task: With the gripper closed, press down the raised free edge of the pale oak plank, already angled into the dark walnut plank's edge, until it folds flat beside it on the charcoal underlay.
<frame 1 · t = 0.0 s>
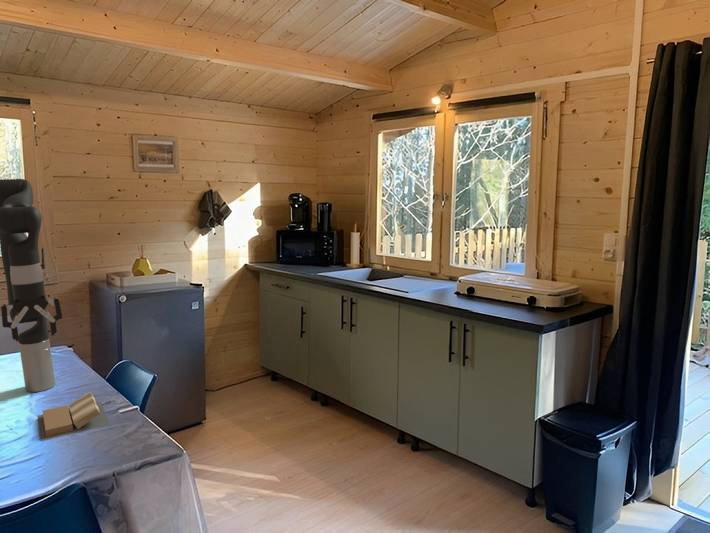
hand: (35, 337, 154), 29 cm above the table, tool pointing down, fingers open, 8 cm apart
floor section: (73, 421, 168), on the table
oak plank: (84, 409, 169), point 3 cm above the table, hinge at 25.0°
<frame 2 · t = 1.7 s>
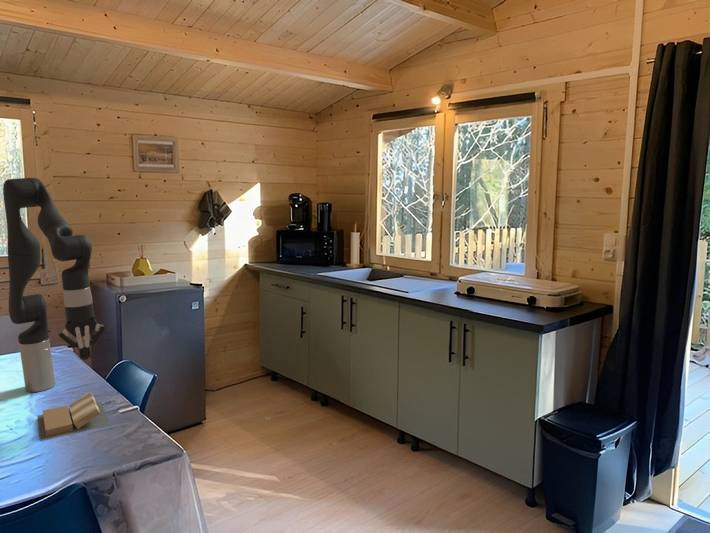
hand: (85, 359, 167), 19 cm above the table, tool pointing down, fingers closed
nothing on the table moved.
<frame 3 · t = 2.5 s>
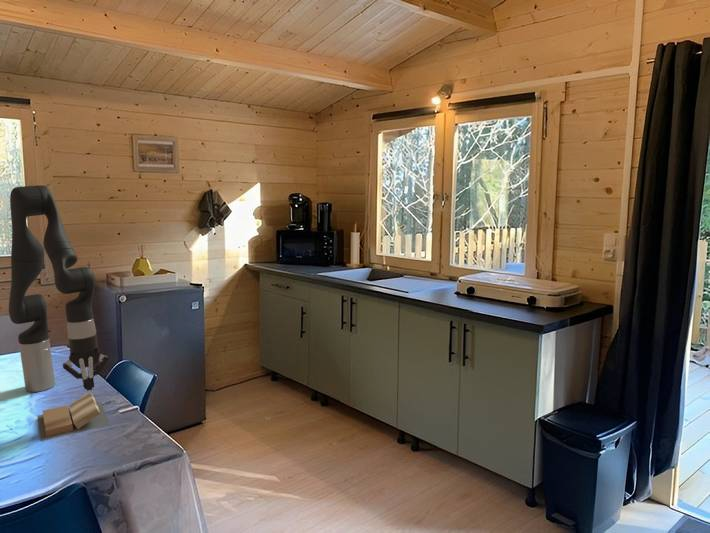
hand: (89, 389, 169), 9 cm above the table, tool pointing down, fingers closed
nothing on the table moved.
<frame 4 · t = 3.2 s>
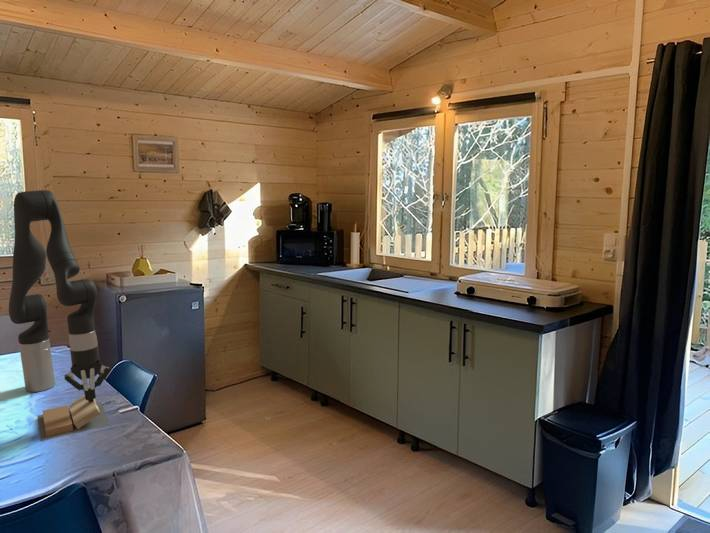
hand: (90, 400, 170), 5 cm above the table, tool pointing down, fingers closed
oak plank: (84, 409, 169), point 3 cm above the table, hinge at 25.0°, touching gripper
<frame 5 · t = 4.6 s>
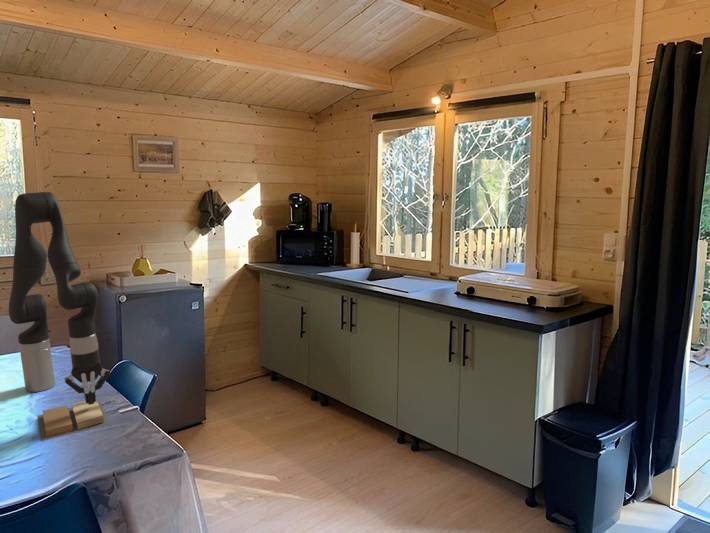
hand: (90, 403, 170), 4 cm above the table, tool pointing down, fingers closed
oak plank: (87, 412, 170), point 2 cm above the table, hinge at 2.5°
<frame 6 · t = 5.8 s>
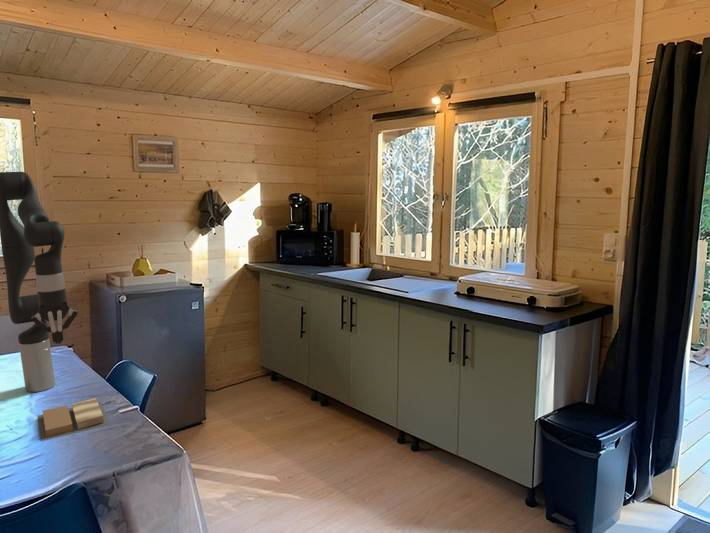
hand: (58, 343, 171), 23 cm above the table, tool pointing down, fingers closed
nothing on the table moved.
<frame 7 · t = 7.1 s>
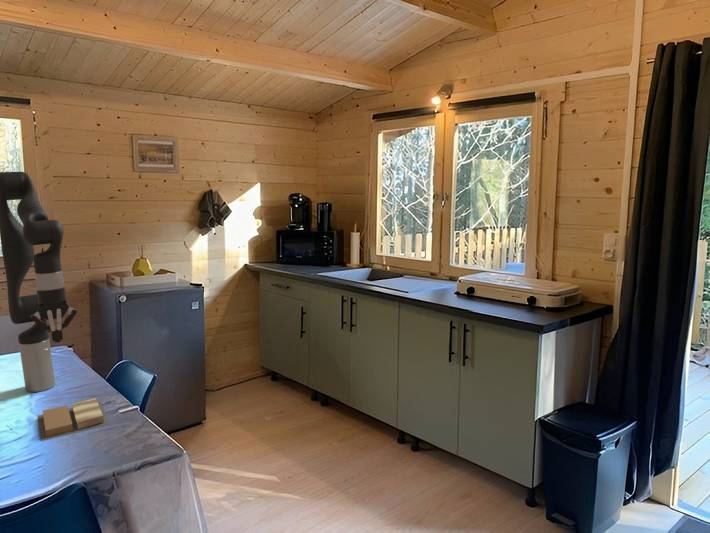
hand: (57, 341, 171), 23 cm above the table, tool pointing down, fingers closed
nothing on the table moved.
at the end: oak plank at +2° (first picture: +25°) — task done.
